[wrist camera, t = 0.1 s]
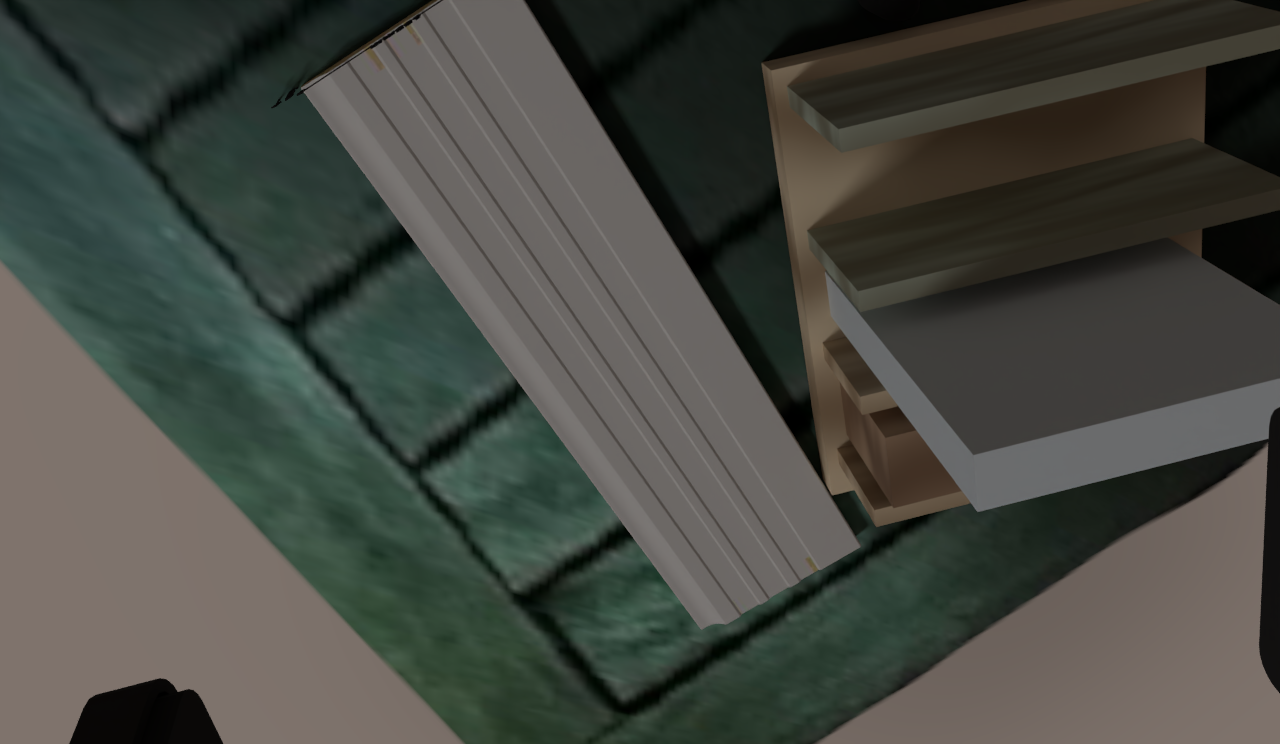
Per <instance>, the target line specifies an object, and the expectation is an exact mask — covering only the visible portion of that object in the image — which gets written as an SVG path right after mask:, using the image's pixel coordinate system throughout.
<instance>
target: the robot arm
mask: <svg viewBox="0 0 1280 744" xmlns="http://www.w3.org/2000/svg"><path fill="white" fill-rule="evenodd" d="M1265 508H1266V509H1265V529H1264V551H1263V573H1262V595H1261V596H1262V597H1261V616H1260V639H1259V648H1260V656H1261V660H1262V664H1263V667H1264V669H1265V671H1266V674H1267V675H1268V677H1269V679H1270V681H1271V683H1272V684H1273V685H1274V687H1275V688H1276V689H1277V690H1278V692H1279V693H1280V407H1279V408H1277V409H1275V410H1274V412H1273V413H1272V415H1271V418H1270V423H1269V440H1268V462H1267V484H1266V507H1265ZM69 744H223V742H222V740H221V738H220V736H219V734H218V732H217V730H216V728H215V726H214V724H213V722H212V720H211V718H210V716H209V714H208V712H207V709H206V708H205V705H204V704H203V702H202V700H201V698H200V697H199V695H198V694H197V693H196V692H195V691H194V690H190V689H188V690H184V691H180V692H177V690H176V689H175V687H174V685H172V684H171V683H170V682H169V681H168V680H166V679H161V678H160V679H156V680H152V681H148V682H144V683H140V684H136V685H133V686H128V687H125V688H121V689H117V690H113V691H109V692H105V693H102V694H98V695H95V696H93V697H92V698H90V699H89V700H88V702H87V704H86V705H85V707H84V708H83V711H82V713H81V716H80V718H79V721H78V724H77V726H76V729H75V731H74V733H73V736H72V738H71V741H70V743H69Z"/></svg>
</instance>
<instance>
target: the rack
mask: <svg viewBox="0 0 1280 744" xmlns="http://www.w3.org/2000/svg"><path fill="white" fill-rule="evenodd" d="M1277 49H1280V12H1278V11H1275V10H1271V9H1267V8H1263V7H1259V6H1255V5H1251V4H1247V3H1243V2H1239V1H1235V0H1028V1H1024V2H1020V3H1015V4H1011V5H1007V6H1003V7H998V8H994V9H990V10H985V11H981V12H977V13H972V14H968V15H964V16H960V17H955V18H951V19H947V20H942V21H938V22H934V23H930V24H925V25H921V26H917V27H912V28H908V29H904V30H900V31H895V32H891V33H887V34H882V35H878V36H874V37H869V38H865V39H861V40H857V41H852V42H848V43H844V44H839V45H835V46H831V47H827V48H822V49H818V50H814V51H809V52H805V53H801V54H796V55H792V56H788V57H784V58H779V59H775V60H771V61H766V62H762V69H763V76H764V83H765V90H766V97H767V103H768V110H769V117H770V124H771V131H772V137H773V144H774V151H775V158H776V165H777V171H778V178H779V185H780V192H781V199H782V205H783V212H784V219H785V226H786V233H787V239H788V246H789V253H790V260H791V267H792V274H793V280H794V287H795V294H796V301H797V308H798V314H799V321H800V328H801V335H802V342H803V348H804V355H805V362H806V369H807V376H808V382H809V389H810V396H811V403H812V410H813V416H814V423H815V430H816V437H817V444H818V450H819V457H820V464H821V471H822V478H823V480H824V482H825V483H826V485H827V487H828V489H829V491H830V492H831V494H832V495H836V494H840V493H844V492H848V491H852V490H855V492H856V493H857V495H858V497H859V498H860V500H861V502H862V503H863V505H864V507H865V509H866V510H867V512H868V514H869V515H870V517H871V519H872V520H873V522H874V524H875V525H876V527H878V526H882V525H886V524H890V523H894V522H898V521H902V520H905V519H909V518H913V517H917V516H921V515H925V514H929V513H933V512H937V511H941V510H945V509H949V508H953V507H957V506H961V505H965V504H969V503H971V502H970V501H969V500H968V498H967V497H966V496H965V494H964V493H963V492H962V491H960V492H956V493H952V494H948V495H944V496H940V497H936V498H933V499H929V500H925V501H921V502H917V503H913V504H909V505H905V506H901V507H897V508H893V507H892V505H891V503H890V502H889V500H888V499H887V497H886V496H885V494H884V492H883V491H882V489H881V488H880V486H879V485H878V483H877V481H876V480H875V478H874V477H873V475H872V473H871V472H870V470H869V469H868V467H867V466H866V464H865V462H864V461H863V459H862V458H861V456H860V455H859V453H858V451H857V450H856V448H855V447H854V445H853V444H852V442H851V440H850V439H849V437H848V436H847V433H846V426H845V418H844V411H843V403H842V396H841V388H840V383H841V384H842V386H843V387H844V389H845V390H846V392H847V393H848V395H849V396H850V398H851V399H852V401H853V402H854V403H855V405H856V406H857V408H858V409H859V411H860V412H861V414H862V415H865V414H869V413H873V412H877V411H881V410H885V409H889V408H893V407H897V406H898V405H897V404H896V402H895V401H894V400H893V398H892V397H891V396H890V394H889V393H888V392H887V390H886V389H885V388H884V386H883V385H882V384H881V382H880V381H879V380H878V378H877V377H876V376H875V374H874V373H873V372H872V370H871V369H870V368H869V366H868V365H867V364H866V362H865V361H864V360H863V358H862V357H861V356H860V354H859V353H858V352H857V350H856V349H855V348H854V346H853V345H852V344H851V342H850V341H849V340H848V338H847V337H846V336H845V334H844V333H843V332H842V330H841V329H840V328H839V326H838V325H837V324H836V322H835V321H834V320H833V318H832V317H831V313H830V306H829V298H828V291H827V283H826V276H825V271H828V273H829V274H830V275H831V276H832V278H833V279H834V280H835V281H836V283H837V284H838V285H839V286H840V287H841V289H842V290H843V291H844V292H845V294H846V295H847V296H848V297H849V299H850V300H851V301H852V302H853V303H854V305H855V306H856V307H857V308H858V310H859V311H860V312H863V311H867V310H871V309H875V308H879V307H883V306H888V305H892V304H896V303H900V302H904V301H908V300H912V299H916V298H920V297H924V296H929V295H933V294H937V293H941V292H945V291H949V290H953V289H957V288H961V287H965V286H970V285H974V284H978V283H982V282H986V281H990V280H994V279H998V278H1002V277H1006V276H1011V275H1015V274H1019V273H1023V272H1027V271H1031V270H1035V269H1039V268H1043V267H1047V266H1052V265H1056V264H1060V263H1064V262H1068V261H1072V260H1076V259H1080V258H1084V257H1088V256H1093V255H1097V254H1101V253H1105V252H1109V251H1113V250H1117V249H1121V248H1125V247H1129V246H1134V245H1138V244H1142V243H1146V242H1150V241H1154V240H1158V239H1162V238H1166V237H1168V238H1169V239H1171V240H1173V241H1174V242H1176V243H1178V244H1179V245H1181V246H1182V247H1184V248H1186V249H1187V250H1189V251H1191V252H1192V253H1194V254H1196V255H1197V256H1199V257H1201V255H1202V229H1203V228H1207V227H1212V226H1216V225H1220V224H1224V223H1228V222H1232V221H1236V220H1240V219H1244V218H1248V217H1253V216H1257V215H1261V214H1265V213H1269V212H1273V211H1277V210H1280V177H1278V176H1276V175H1274V174H1271V173H1269V172H1267V171H1265V170H1262V169H1260V168H1258V167H1256V166H1254V165H1251V164H1249V163H1247V162H1245V161H1242V160H1240V159H1238V158H1236V157H1234V156H1231V155H1229V154H1227V153H1225V152H1223V151H1220V150H1218V149H1216V148H1214V147H1211V146H1209V145H1207V144H1205V143H1204V129H1205V87H1206V66H1210V65H1214V64H1218V63H1222V62H1227V61H1231V60H1235V59H1239V58H1243V57H1248V56H1252V55H1256V54H1260V53H1264V52H1269V51H1273V50H1277Z"/></svg>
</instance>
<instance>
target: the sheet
mask: <svg viewBox="0 0 1280 744" xmlns="http://www.w3.org/2000/svg"><path fill="white" fill-rule="evenodd" d="M825 276H826V283H827V291H828V298H829V306H830V313H831V317H832V318H833V320H834V321H835V322H836V324H837V325H838V326H839V328H840V329H841V330H842V332H843V333H844V334H845V336H846V337H847V338H848V340H849V341H850V342H851V344H852V345H853V346H854V348H855V349H856V350H857V352H858V353H859V354H860V356H861V357H862V358H863V360H864V361H865V362H866V364H867V365H868V366H869V368H870V369H871V370H872V372H873V373H874V374H875V376H876V377H877V378H878V380H879V381H880V382H881V384H882V385H883V386H884V388H885V389H886V390H887V392H888V393H889V394H890V396H891V397H892V398H893V400H894V401H895V402H896V404H897V405H898V406H899V408H900V409H901V410H902V412H903V413H904V414H905V416H906V417H907V418H908V420H909V421H910V422H911V424H912V425H913V426H914V428H915V429H916V430H917V432H918V433H919V434H920V436H921V437H922V438H923V440H924V441H925V442H926V444H927V445H928V446H929V448H930V449H931V450H932V452H933V453H934V454H935V456H936V457H937V458H938V460H939V461H940V462H941V464H942V465H943V466H944V468H945V469H946V470H947V472H948V473H949V474H950V476H951V477H952V478H953V480H954V481H955V482H956V484H957V485H958V486H959V488H960V489H961V490H962V492H963V493H964V494H965V496H966V497H967V498H968V500H969V501H970V502H971V504H972V505H973V506H974V508H975V509H976V510H977V512H979V511H983V510H987V509H991V508H995V507H999V506H1003V505H1007V504H1011V503H1015V502H1019V501H1023V500H1027V499H1031V498H1035V497H1039V496H1043V495H1047V494H1051V493H1054V492H1058V491H1062V490H1066V489H1070V488H1074V487H1078V486H1082V485H1086V484H1090V483H1094V482H1098V481H1102V480H1106V479H1110V478H1114V477H1118V476H1122V475H1126V474H1130V473H1134V472H1137V471H1141V470H1145V469H1149V468H1153V467H1157V466H1161V465H1165V464H1169V463H1173V462H1177V461H1181V460H1185V459H1189V458H1193V457H1197V456H1201V455H1205V454H1209V453H1213V452H1217V451H1221V450H1224V449H1228V448H1232V447H1236V446H1240V445H1244V444H1248V443H1252V442H1256V441H1260V440H1264V439H1268V438H1269V423H1270V418H1271V415H1272V413H1273V412H1274V410H1275V409H1277V408H1279V407H1280V305H1279V304H1277V303H1275V302H1274V301H1272V300H1270V299H1269V298H1267V297H1265V296H1264V295H1262V294H1260V293H1259V292H1257V291H1255V290H1254V289H1252V288H1250V287H1249V286H1247V285H1245V284H1244V283H1242V282H1240V281H1239V280H1237V279H1235V278H1234V277H1232V276H1231V275H1229V274H1227V273H1226V272H1224V271H1222V270H1221V269H1219V268H1217V267H1216V266H1214V265H1212V264H1211V263H1209V262H1207V261H1206V260H1204V259H1202V258H1201V257H1199V256H1197V255H1196V254H1194V253H1192V252H1191V251H1189V250H1187V249H1186V248H1184V247H1182V246H1181V245H1179V244H1178V243H1176V242H1174V241H1173V240H1171V239H1169V238H1168V237H1166V238H1162V239H1158V240H1154V241H1150V242H1146V243H1142V244H1138V245H1134V246H1129V247H1125V248H1121V249H1117V250H1113V251H1109V252H1105V253H1101V254H1097V255H1093V256H1088V257H1084V258H1080V259H1076V260H1072V261H1068V262H1064V263H1060V264H1056V265H1052V266H1047V267H1043V268H1039V269H1035V270H1031V271H1027V272H1023V273H1019V274H1015V275H1011V276H1006V277H1002V278H998V279H994V280H990V281H986V282H982V283H978V284H974V285H970V286H965V287H961V288H957V289H953V290H949V291H945V292H941V293H937V294H933V295H929V296H924V297H920V298H916V299H912V300H908V301H904V302H900V303H896V304H892V305H888V306H883V307H879V308H875V309H871V310H867V311H863V312H860V311H859V310H858V308H857V307H856V306H855V305H854V303H853V302H852V301H851V300H850V299H849V297H848V296H847V295H846V294H845V292H844V291H843V290H842V289H841V287H840V286H839V285H838V284H837V283H836V281H835V280H834V279H833V278H832V276H831V275H830V274H829V273H828V271H825Z"/></svg>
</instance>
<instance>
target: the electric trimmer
mask: <svg viewBox="0 0 1280 744" xmlns="http://www.w3.org/2000/svg"><path fill="white" fill-rule="evenodd" d="M858 2H859V4H860V5H861V6H862V7H863V8H864V9H866V10H867V11H869V12H871V13H873V14H875V15H877V16H879V17H881V18H883V19H885V20H889V21H894V22H895V21H905V20H909V19H911V18H912V17H913V16H914V15H915V14H917V13H918V10H919V6H920V0H858Z"/></svg>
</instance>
